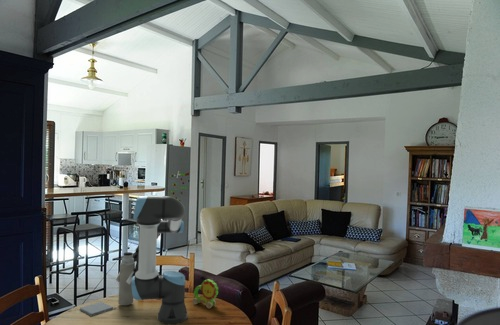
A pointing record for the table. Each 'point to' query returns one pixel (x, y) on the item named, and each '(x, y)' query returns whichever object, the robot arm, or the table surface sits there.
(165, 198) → the robot arm
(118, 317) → the table surface
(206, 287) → the toy lion
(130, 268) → the thermos bottle
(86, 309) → the gray square plate
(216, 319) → the table surface
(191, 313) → the table surface
